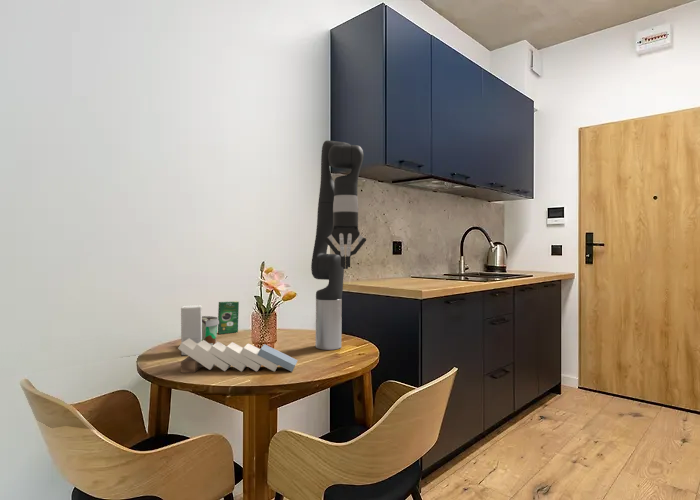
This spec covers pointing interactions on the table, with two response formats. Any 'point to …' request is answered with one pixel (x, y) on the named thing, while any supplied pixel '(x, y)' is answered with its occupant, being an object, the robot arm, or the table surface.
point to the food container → (209, 329)
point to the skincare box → (191, 323)
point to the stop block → (190, 365)
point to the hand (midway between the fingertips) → (345, 268)
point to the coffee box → (228, 317)
